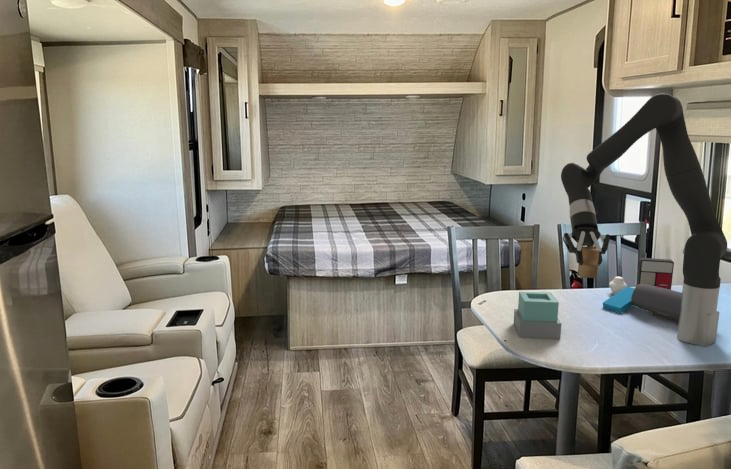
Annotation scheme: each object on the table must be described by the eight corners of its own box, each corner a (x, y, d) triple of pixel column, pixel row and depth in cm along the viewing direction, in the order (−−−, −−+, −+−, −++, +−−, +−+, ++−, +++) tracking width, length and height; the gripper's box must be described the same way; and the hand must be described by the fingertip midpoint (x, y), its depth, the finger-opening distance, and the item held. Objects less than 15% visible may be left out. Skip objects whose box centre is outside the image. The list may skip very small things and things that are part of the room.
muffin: (624, 297, 205) (625, 279, 204) (606, 294, 209) (608, 276, 208) (627, 293, 210) (629, 275, 209) (610, 290, 214) (612, 273, 212)
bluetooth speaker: (711, 327, 174) (715, 297, 172) (695, 332, 170) (698, 302, 168) (645, 307, 194) (648, 280, 192) (629, 311, 189) (631, 284, 187)
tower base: (551, 325, 176) (553, 291, 174) (560, 339, 164) (562, 303, 162) (513, 323, 177) (515, 290, 175) (519, 337, 166) (521, 302, 163)
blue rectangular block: (621, 325, 189) (652, 304, 197) (620, 308, 187) (651, 286, 194) (604, 319, 195) (635, 298, 202) (602, 302, 192) (633, 282, 200)
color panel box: (637, 299, 203) (641, 260, 200) (635, 295, 207) (639, 257, 204) (670, 302, 200) (674, 262, 197) (667, 298, 204) (671, 259, 201)
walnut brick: (592, 274, 166) (595, 246, 165) (596, 278, 162) (599, 250, 160) (577, 273, 167) (580, 246, 165) (581, 277, 163) (583, 249, 161)
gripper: (562, 209, 169) (568, 256, 159) (610, 210, 167) (619, 258, 158) (556, 223, 175) (562, 269, 166) (603, 224, 173) (611, 271, 164)
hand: (590, 264), depth 162 cm, fingers closed on walnut brick, 4 cm apart
